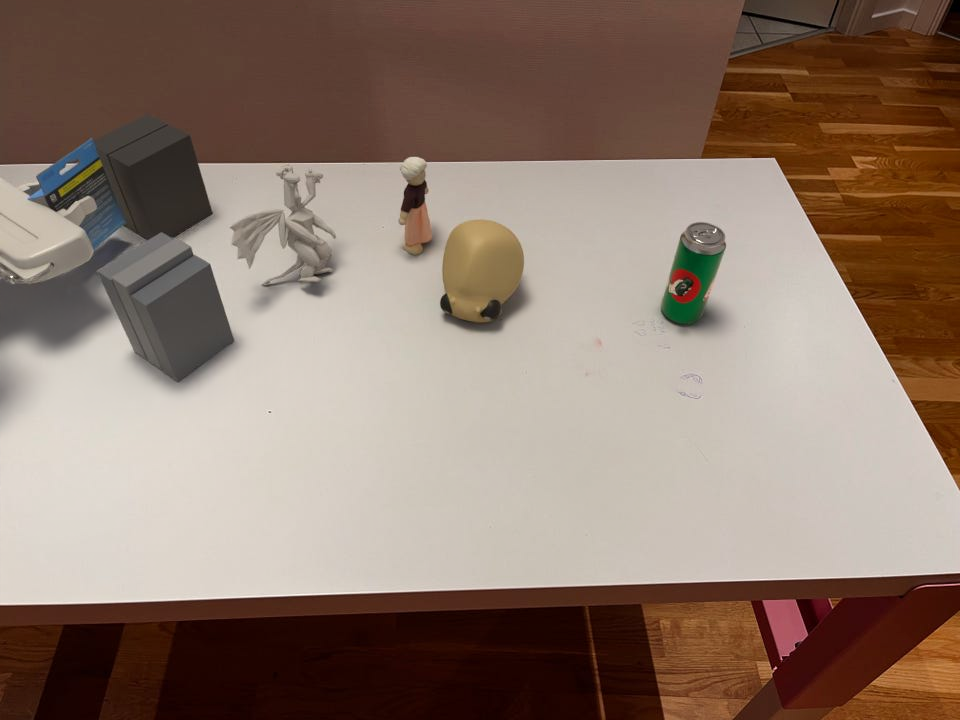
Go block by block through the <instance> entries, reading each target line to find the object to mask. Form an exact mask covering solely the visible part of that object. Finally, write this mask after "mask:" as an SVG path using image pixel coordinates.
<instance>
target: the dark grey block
mask: <svg viewBox="0 0 960 720" xmlns="http://www.w3.org/2000/svg"><path fill="white" fill-rule="evenodd" d="M93 141H94V145H95V147H96V151H97V154H98V156H99V158H100V160H101V163H102V165H103V168H104V170H105V172H106V175H107V177H108V180H109V182H110V185H111V187H112V189H113V192H114V194H115V196H116V199H117V202H118V204H119V206H120V209H121V211H122V214H123V216H124V219H125V221H126V223H125V224H124V225H123V226H124V227H125V228H127V229H129V230H131V231H132V232H134V233H136V234H137V235H139V236H141V237H142V238H144V239H145V240H146V241H148V240H149V239H151V238H153V237H154V236H156V235H158V234H159V233H161V232H162V233H164V234H166V235H167V236H169V237H171V238H172V239H174V238H176V236H179V235H181V233H183V232H185V231H186V230H188V229H190V228H191V227H193V226H195V225H196V224H198V223H200V222H201V221H203V220H205V219H206V218H208V217H209V216H211V215H213V214H214V213H213V210H212V206H211V202H210V198H209V196H208V193H207V189H206V185H205V182H204V179H203V175H202V172H201V169H200V165H199V162H198V157H197V155H196V151H195V148H194V144H193V142H192V141H193V140H192V138H191V135H190V134H188V133H187V132H185V131H183V130H181V129H179V128H177V127H175V126H173V125H171V124H169V123H167V122H165V121H163V120H161V119H159V118H157V117H156V116H154V115H151V114H149V113H147V114H145V115H143V116H141V117H139V118H137V119H134V120H132V121H130V122H128V123H126V124H124V125H122V126H120V127H118V128H115V129H114V130H111V131H110V132H107V133H106V134H103V135H101V136H99V137H97V138H95V139H93Z"/></svg>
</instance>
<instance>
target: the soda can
mask: <svg viewBox="0 0 960 720" xmlns="http://www.w3.org/2000/svg"><path fill="white" fill-rule="evenodd" d="M726 248H727V242H726V233H725V232H724V230H723V229H722V228H720V227H719V226H718V225H715V224H713V223H710V222H707V221H706V222H705V221H698V222H697V221H696V222H693V223H690V224H689V225H687V226H686V229H685V230H684V231H683V232H681V234H680V237H679V240H678V244H677V247H676V251H675V254H674V258H673V261H672V265H671V269H670V272H669V275H668V279H667V282H666V285H665V289H664V292H663V297H662V300H661V304H660V308H661V311H662V313H663V314H664V316H665V317H666V318H667V319H668V320H670V321H671V322H674V323H677V324H681V325H688V324H693V323H695V322H697V321H699V320H700V319H701V318H702V317H703V316H704V312H705V309H706V306H707V304H708V300H709V297H710V296H711V295H710V294H711V292H712V288H713V287H714V283H715V281H716V277H717V274H718V272H719V268H720V265H721V263H722V260H723V257H724V254H725V252H726Z"/></svg>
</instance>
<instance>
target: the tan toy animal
mask: <svg viewBox="0 0 960 720" xmlns="http://www.w3.org/2000/svg"><path fill="white" fill-rule="evenodd" d="M524 268H525V255H524V250H523V247H522V244H521V241H520V240H519V238H518V237H517V235H516V234H515V233H514V232H513V231H512V230H511V229H510V228H508V227H506V226H505V225H503V224H501V223H500V222H496V221H493V220H489V219H471V220H467V221H466V220H465V221H464V222H461V223H459V224H457V225H456V226H455V227H453V229H452V230H451V231H450V233H449V236H448V238H447V240H446V244H445V247H444V251H443V257H442V267H441V269H442V270H441V274H442V276H441V277H442V282H443V288H444V289H443V290H444V291H445V293H444V294H443V295H442V296H441V298H440V300H439V307H440V308H441V310H442V311H443V312H444V313H446V314H448V315H451V316H453V317H455V318H457V319H460V320H464V321H467V322H472V323H489V322H492V321H495V320H496V319H498V318H499V317H500V316H501V315H502V313H503V308H502V305H503V304H504V303H505V302H506V301H507V300H508V299H509V298H510V297H511V296H512V295H513V294H514V292H515V291H516V290H517V288H518V287H519V284H520V283H521V280H522V277H523V274H524Z"/></svg>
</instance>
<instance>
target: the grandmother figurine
mask: <svg viewBox="0 0 960 720" xmlns="http://www.w3.org/2000/svg"><path fill="white" fill-rule="evenodd" d="M427 167H428V163H427V161H426V160H425V159H423V158H422V157H419V156H410V157H407V158H406V159H405V160H403V162H402V164H401V165H400V166H399V171H400V173H401V176H402V177H403V178H404V179H405V181H406V182H407V184H406V186H405V188H404V190H403V198H402V199H403V200H402V203H401V207H400V213H399V219H398V224H399V225H400V226H404V243H403V245H402V249H403V250H405V251H406V252H407V253H409V254H411V255H414V256H416V255H420V254H422V252H423V251H424V248H423V247H424V246H423V245H422V244H427V243H428V242H430V241H431V240H432V239H433V231H432V226H431V221H430V216H429V211H428V206H427V203H426V195H428V193H429V188H428V182H427V180H426V175H427V173H426V168H427Z"/></svg>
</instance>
